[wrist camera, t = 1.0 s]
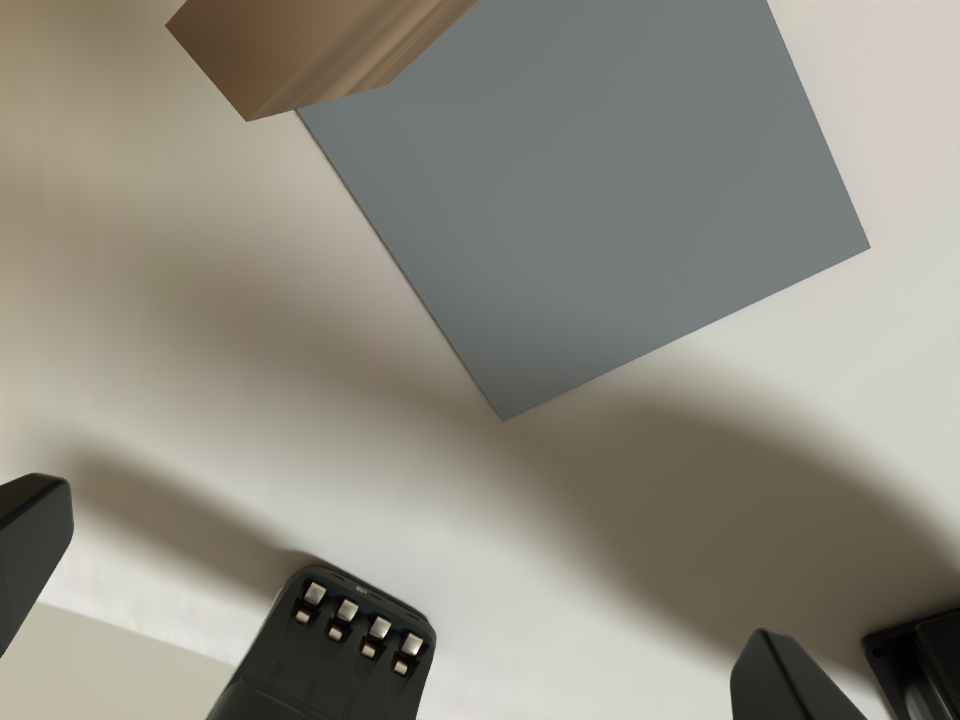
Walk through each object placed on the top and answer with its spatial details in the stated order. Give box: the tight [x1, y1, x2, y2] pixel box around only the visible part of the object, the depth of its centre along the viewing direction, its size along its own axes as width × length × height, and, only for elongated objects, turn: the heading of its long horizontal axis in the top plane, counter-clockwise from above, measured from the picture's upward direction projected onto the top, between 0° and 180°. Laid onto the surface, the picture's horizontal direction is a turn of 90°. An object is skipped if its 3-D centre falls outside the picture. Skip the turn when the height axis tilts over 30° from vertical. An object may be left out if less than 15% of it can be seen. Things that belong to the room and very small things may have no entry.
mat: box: [296, 0, 871, 421], centre depth 20 cm, size 13×12×1 cm
